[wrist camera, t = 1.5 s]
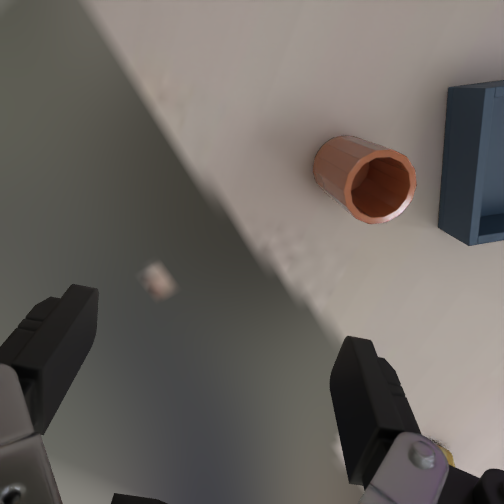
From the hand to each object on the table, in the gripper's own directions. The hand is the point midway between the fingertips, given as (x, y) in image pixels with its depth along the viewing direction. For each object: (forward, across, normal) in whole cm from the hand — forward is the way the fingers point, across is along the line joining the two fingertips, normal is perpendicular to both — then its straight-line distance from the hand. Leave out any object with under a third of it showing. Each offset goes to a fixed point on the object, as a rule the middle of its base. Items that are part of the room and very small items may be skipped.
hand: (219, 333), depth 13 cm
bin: (+27, -24, -4) cm, 36 cm away
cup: (+25, -9, 0) cm, 26 cm away
